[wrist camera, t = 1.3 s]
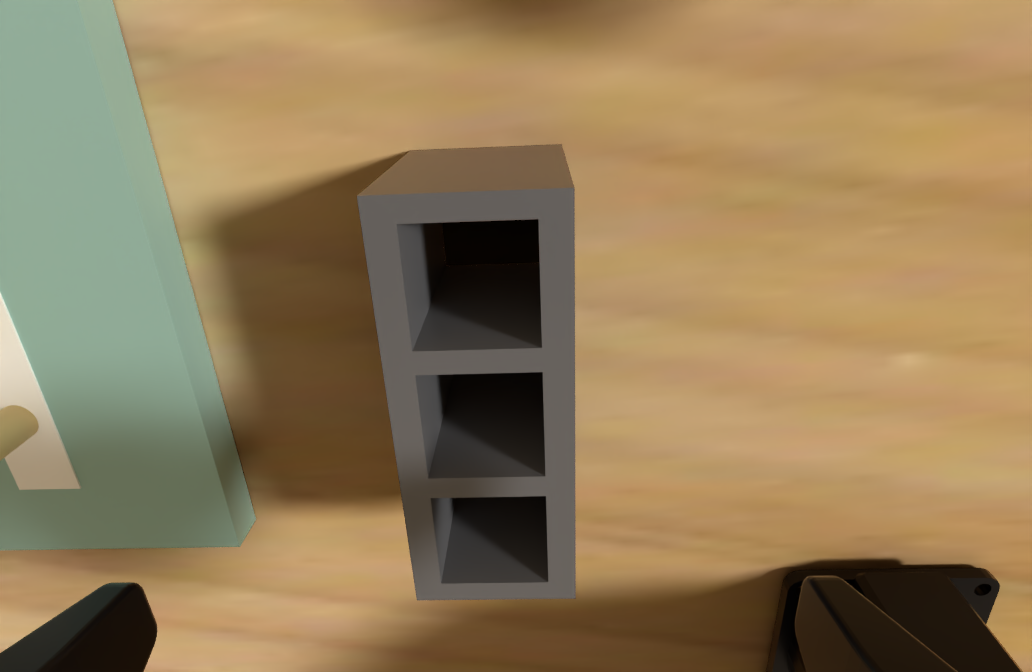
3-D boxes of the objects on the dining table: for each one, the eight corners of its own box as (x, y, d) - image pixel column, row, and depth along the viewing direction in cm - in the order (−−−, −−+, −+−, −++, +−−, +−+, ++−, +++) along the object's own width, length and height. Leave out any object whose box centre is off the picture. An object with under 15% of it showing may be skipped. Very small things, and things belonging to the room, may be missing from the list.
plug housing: (564, 463, 19) (575, 598, 14) (445, 466, 19) (416, 600, 14) (561, 144, 15) (574, 188, 10) (410, 150, 15) (356, 196, 10)
